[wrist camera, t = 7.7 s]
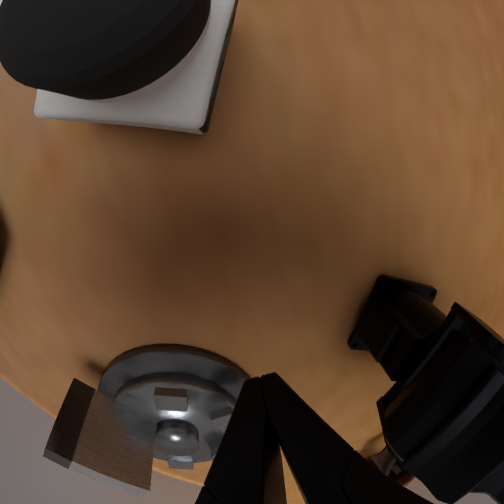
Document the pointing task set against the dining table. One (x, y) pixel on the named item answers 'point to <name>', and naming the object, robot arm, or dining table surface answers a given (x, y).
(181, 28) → the medicine bottle
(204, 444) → the grey studded disc
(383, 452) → the pottery mug
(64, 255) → the dining table surface
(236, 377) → the flange
